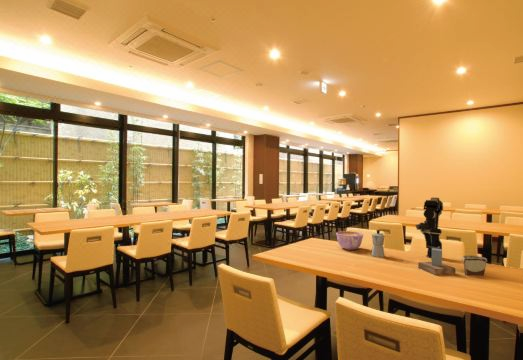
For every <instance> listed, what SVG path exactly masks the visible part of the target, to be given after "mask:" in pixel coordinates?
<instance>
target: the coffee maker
mask: <svg viewBox="0 0 523 360" xmlns="http://www.w3.org/2000/svg"><path fill="white" fill-rule="evenodd" d="M371 239H372V240H371V241H372V244H373V246H372V250H371V256H372V257H374V258H385V257H386V255H385V250H384V242H385V234H383V233H381V230H380V229H376V233H372V234H371Z"/></svg>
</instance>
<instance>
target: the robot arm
mask: <svg viewBox="0 0 523 360" xmlns="http://www.w3.org/2000/svg"><path fill="white" fill-rule="evenodd" d="M423 210H424V211H423V216H424V218H425V220H424V221H423V222H419V223H418V224H415V229H416V230H419V231H420V232H421V234H422V235H423V236H424V239H425V240H424V241H425V246H426V247H425V248H426V249H427V254H426V255H425V256H426V257H427V258H430V259H432V248H436V249H442V250H443V243H442V242H441V239H440V236H441V234H442V229H441V228H439V223H440V222H439V220H440V219H439V218H440V215H442V214H443V211H444V203H443V202H442V201H441V199H440V198H439V197H432V196H431V197H430V199H426V200H425V201H424V204H423Z"/></svg>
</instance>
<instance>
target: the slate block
mask: <svg viewBox="0 0 523 360" xmlns="http://www.w3.org/2000/svg"><path fill="white" fill-rule="evenodd" d="M430 262H431V265H433V266H440V267H442V263H443V248H442V249H436V248H432V258H431V261H430Z"/></svg>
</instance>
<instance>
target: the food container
mask: <svg viewBox="0 0 523 360" xmlns="http://www.w3.org/2000/svg"><path fill="white" fill-rule="evenodd" d="M461 260H462V261H463V269H464V270H463V271H464V275H465V276H467V277H485V274H486V265H487V263H488V259H487V258H486V257H484V256H480V255H471V254H469V255H466V254H465V255H463V256H462V259H461Z"/></svg>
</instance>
